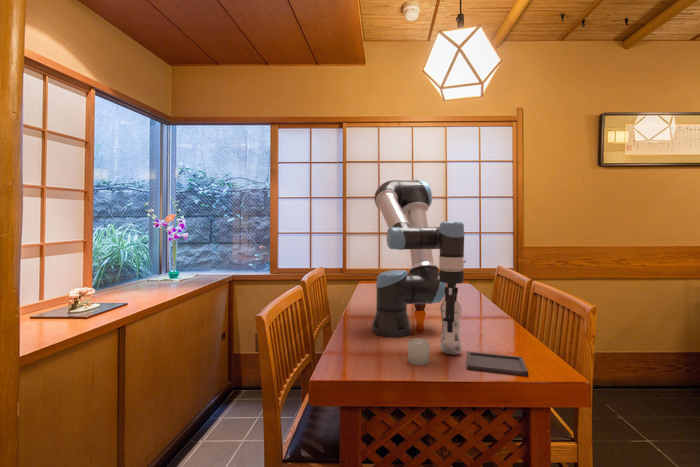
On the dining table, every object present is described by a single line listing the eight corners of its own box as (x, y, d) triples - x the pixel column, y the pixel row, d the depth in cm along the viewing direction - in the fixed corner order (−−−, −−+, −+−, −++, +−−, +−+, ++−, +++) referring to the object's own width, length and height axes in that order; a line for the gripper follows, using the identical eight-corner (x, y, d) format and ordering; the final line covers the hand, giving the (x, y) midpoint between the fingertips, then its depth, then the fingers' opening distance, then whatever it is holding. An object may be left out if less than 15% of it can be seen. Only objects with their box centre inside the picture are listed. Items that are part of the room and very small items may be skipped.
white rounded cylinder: (406, 364, 111) (406, 344, 111) (409, 356, 117) (409, 337, 117) (428, 366, 109) (428, 346, 109) (430, 358, 115) (430, 339, 115)
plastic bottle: (458, 358, 116) (459, 294, 115) (437, 354, 119) (437, 292, 119) (464, 352, 121) (464, 291, 120) (443, 348, 125) (444, 289, 124)
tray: (466, 369, 107) (466, 365, 107) (467, 355, 119) (467, 351, 119) (528, 376, 102) (528, 372, 102) (522, 360, 114) (522, 356, 114)
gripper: (463, 275, 106) (462, 349, 107) (464, 265, 130) (463, 326, 131) (436, 274, 109) (435, 346, 109) (442, 265, 132) (441, 324, 133)
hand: (450, 335), depth 120 cm, fingers open, 13 cm apart
